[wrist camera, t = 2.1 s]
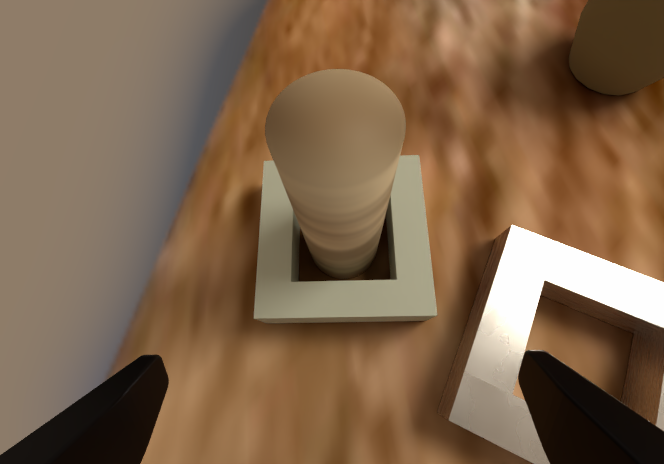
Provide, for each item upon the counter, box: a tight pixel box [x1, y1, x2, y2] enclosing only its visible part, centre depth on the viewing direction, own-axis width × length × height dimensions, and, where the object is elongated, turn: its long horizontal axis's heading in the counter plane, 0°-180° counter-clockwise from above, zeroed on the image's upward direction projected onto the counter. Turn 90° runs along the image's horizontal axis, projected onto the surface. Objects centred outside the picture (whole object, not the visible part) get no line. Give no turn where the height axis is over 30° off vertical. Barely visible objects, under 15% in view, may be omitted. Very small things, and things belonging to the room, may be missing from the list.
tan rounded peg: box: [265, 69, 406, 279], centre depth 17 cm, size 4×4×13 cm
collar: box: [254, 155, 437, 323], centre depth 22 cm, size 10×10×3 cm
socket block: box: [437, 225, 664, 464], centre depth 19 cm, size 12×12×2 cm
